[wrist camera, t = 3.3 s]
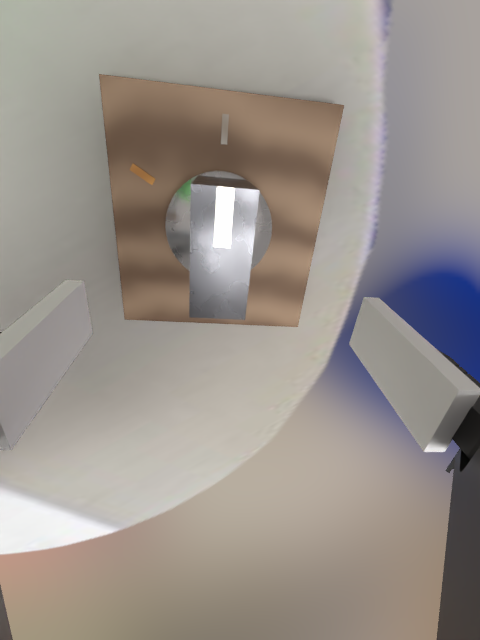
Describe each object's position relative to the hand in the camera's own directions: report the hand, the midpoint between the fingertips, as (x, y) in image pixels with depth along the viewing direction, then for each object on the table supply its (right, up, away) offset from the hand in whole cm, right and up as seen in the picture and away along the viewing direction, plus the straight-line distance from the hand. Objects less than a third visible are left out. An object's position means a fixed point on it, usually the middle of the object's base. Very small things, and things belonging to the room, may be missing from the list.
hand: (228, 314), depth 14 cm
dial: (-2, +10, +18) cm, 21 cm away
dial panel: (-2, +11, +21) cm, 24 cm away
